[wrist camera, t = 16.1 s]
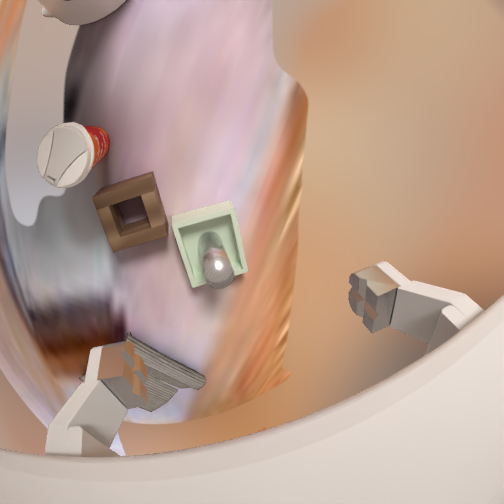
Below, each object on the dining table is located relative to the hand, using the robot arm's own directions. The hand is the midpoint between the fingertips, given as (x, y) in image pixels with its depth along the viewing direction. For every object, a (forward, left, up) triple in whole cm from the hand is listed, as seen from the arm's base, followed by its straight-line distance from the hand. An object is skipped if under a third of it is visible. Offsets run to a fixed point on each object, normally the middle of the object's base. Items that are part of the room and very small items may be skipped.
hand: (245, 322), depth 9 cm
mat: (+44, -26, -38) cm, 64 cm away
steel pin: (+14, 0, -36) cm, 39 cm away
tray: (+14, 0, -37) cm, 40 cm away
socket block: (+5, -10, -37) cm, 39 cm away
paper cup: (-7, -14, -37) cm, 40 cm away
